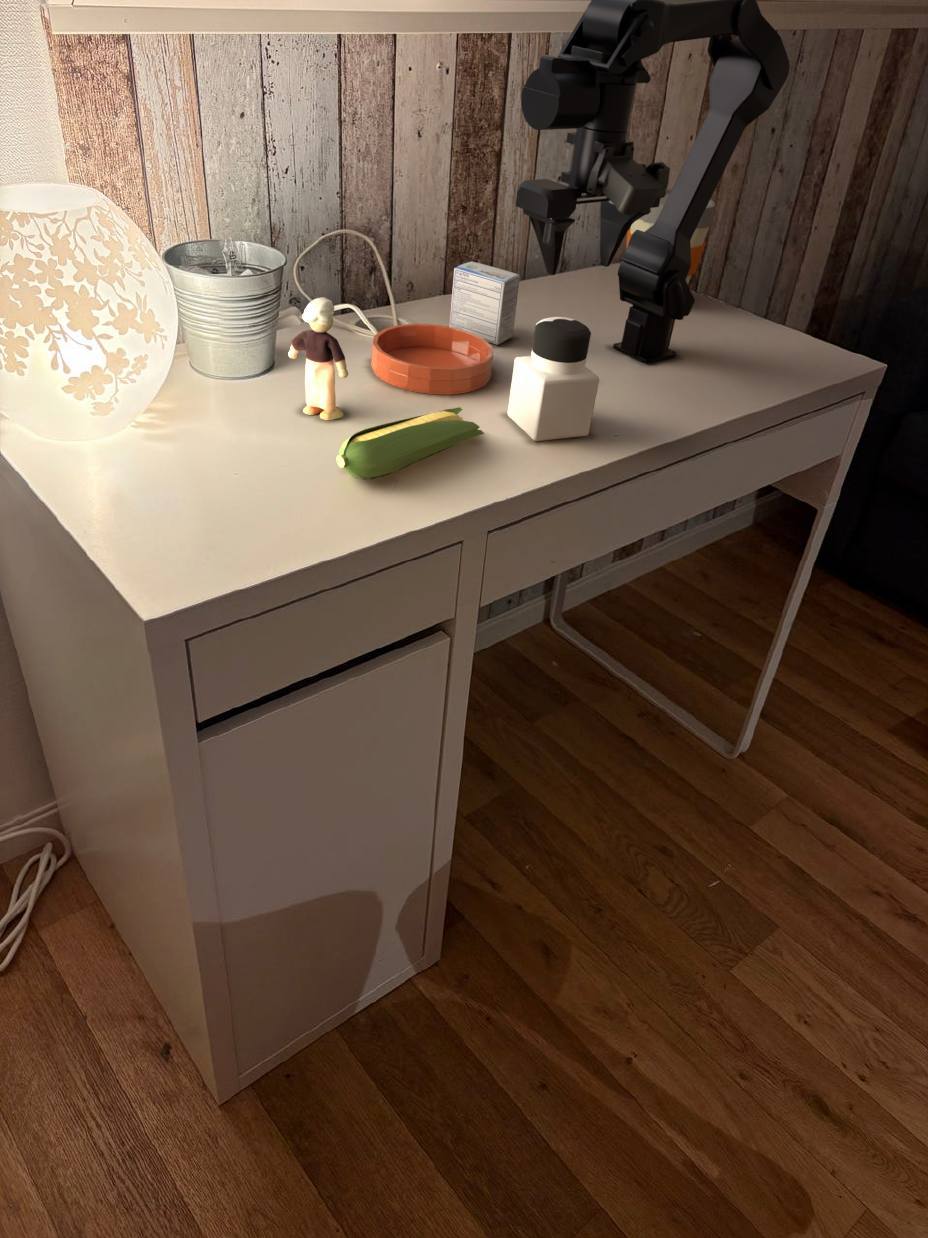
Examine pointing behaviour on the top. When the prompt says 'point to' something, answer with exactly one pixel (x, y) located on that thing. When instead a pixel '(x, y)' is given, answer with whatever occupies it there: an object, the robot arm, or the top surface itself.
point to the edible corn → (403, 443)
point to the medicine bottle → (554, 382)
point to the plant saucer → (432, 358)
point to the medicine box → (484, 301)
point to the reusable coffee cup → (698, 235)
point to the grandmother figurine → (320, 359)
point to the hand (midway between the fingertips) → (578, 269)
